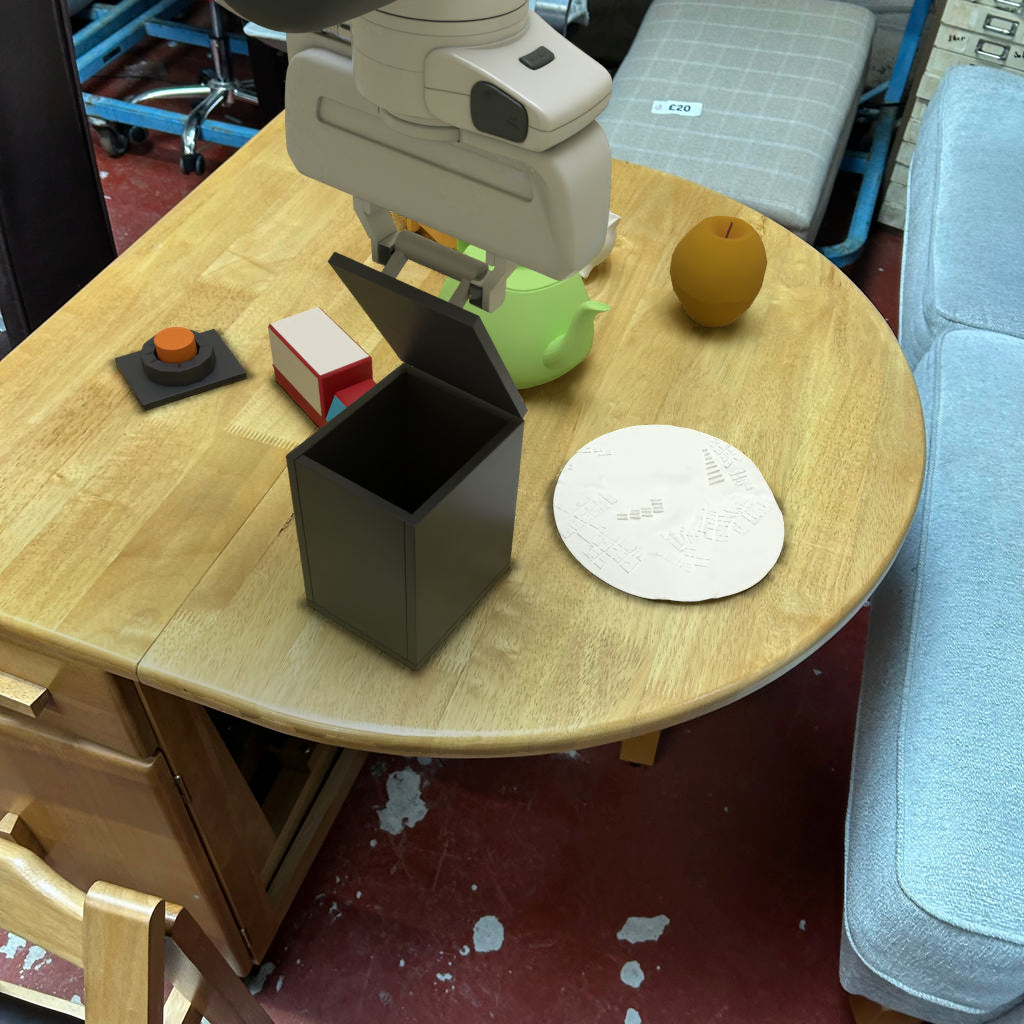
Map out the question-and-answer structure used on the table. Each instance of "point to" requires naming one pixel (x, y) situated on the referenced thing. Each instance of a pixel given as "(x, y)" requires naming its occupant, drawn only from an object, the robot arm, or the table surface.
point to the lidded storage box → (406, 510)
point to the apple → (718, 270)
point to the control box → (179, 371)
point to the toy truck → (319, 364)
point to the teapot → (536, 322)
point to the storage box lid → (433, 319)
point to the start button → (175, 345)
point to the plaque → (668, 514)
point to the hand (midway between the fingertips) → (438, 283)
